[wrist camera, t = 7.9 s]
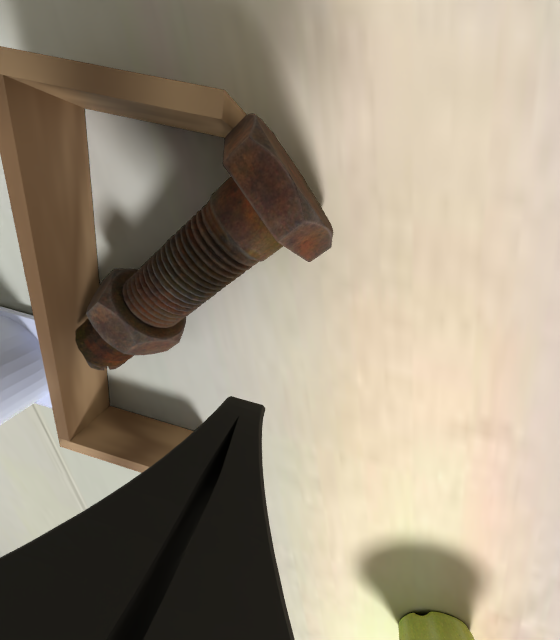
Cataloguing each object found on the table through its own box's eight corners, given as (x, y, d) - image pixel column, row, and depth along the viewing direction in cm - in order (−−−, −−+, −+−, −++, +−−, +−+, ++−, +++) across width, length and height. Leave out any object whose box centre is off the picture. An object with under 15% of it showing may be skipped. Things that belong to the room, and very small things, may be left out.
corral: (101, 410, 21) (60, 446, 18) (67, 84, 13) (-23, 41, 9) (210, 443, 20) (188, 487, 17) (253, 122, 12) (224, 90, 9)
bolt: (133, 315, 19) (301, 171, 13) (153, 379, 18) (348, 251, 12) (30, 308, 14) (228, 70, 8) (46, 397, 13) (295, 190, 7)
